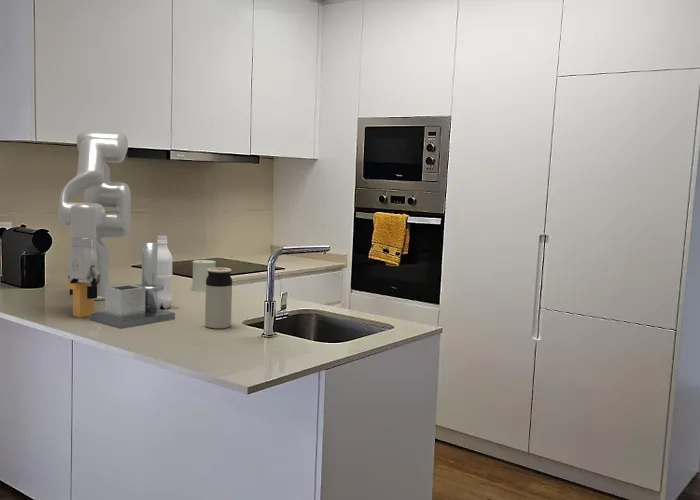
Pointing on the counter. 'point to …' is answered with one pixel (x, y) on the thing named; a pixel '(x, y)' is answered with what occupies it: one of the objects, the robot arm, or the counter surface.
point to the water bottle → (164, 273)
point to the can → (201, 273)
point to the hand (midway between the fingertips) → (83, 296)
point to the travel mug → (218, 298)
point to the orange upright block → (81, 300)
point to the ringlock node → (135, 297)
